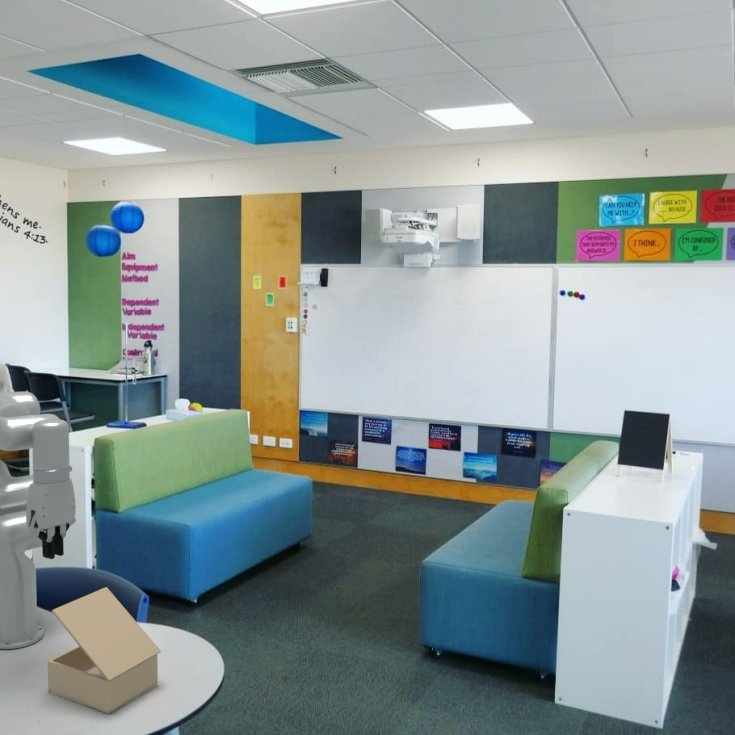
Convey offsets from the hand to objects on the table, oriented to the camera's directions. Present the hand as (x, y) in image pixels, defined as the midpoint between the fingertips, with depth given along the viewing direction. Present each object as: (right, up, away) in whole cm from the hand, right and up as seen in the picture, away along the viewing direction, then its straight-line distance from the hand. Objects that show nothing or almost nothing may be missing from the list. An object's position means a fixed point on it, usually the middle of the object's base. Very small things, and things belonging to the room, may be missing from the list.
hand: (53, 555), depth 175 cm
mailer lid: (+14, -15, -6) cm, 22 cm away
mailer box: (+13, -28, -4) cm, 31 cm away
